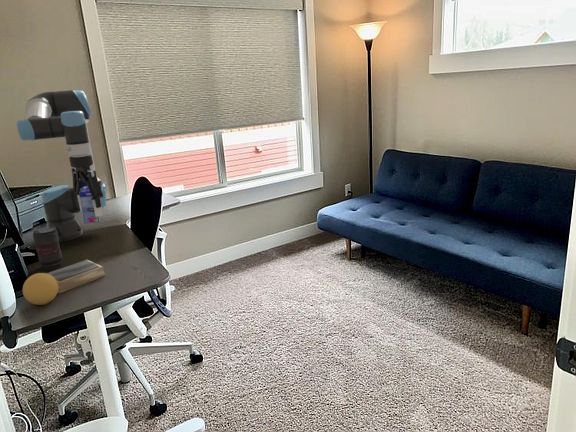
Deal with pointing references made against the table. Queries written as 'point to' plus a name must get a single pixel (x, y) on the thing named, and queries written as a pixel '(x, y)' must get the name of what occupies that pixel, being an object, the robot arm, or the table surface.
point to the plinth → (77, 274)
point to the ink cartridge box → (87, 206)
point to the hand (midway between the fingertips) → (91, 213)
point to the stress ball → (40, 288)
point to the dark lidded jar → (48, 247)
